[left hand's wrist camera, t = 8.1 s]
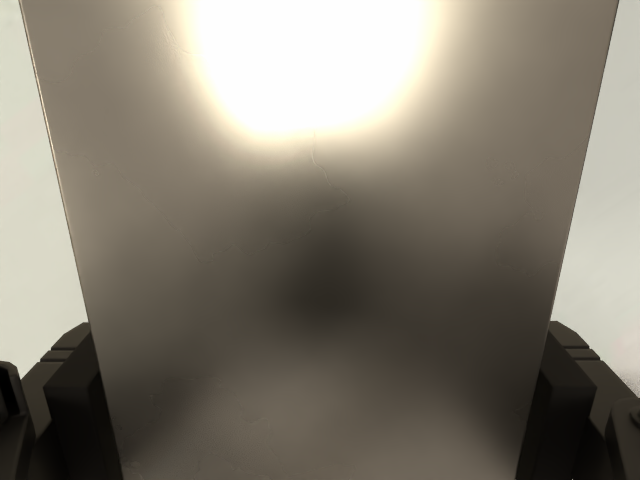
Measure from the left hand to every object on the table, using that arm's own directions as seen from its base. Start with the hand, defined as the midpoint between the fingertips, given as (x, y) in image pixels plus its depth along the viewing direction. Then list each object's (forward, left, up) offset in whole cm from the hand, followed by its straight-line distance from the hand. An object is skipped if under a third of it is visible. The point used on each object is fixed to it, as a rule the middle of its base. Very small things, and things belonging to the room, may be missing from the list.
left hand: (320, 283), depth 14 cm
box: (+10, +3, -1) cm, 11 cm away
